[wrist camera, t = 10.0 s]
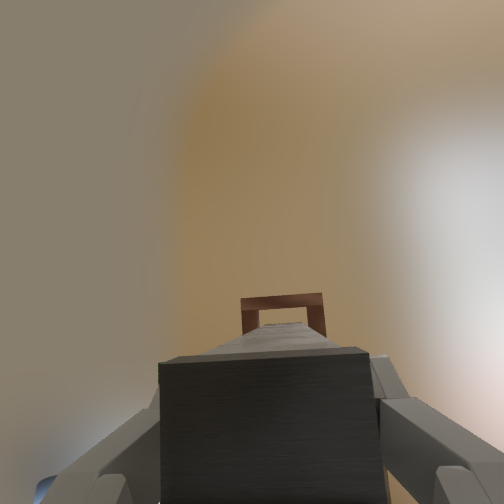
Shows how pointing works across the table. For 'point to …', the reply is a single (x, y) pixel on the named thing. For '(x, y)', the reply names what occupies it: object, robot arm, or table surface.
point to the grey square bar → (270, 423)
